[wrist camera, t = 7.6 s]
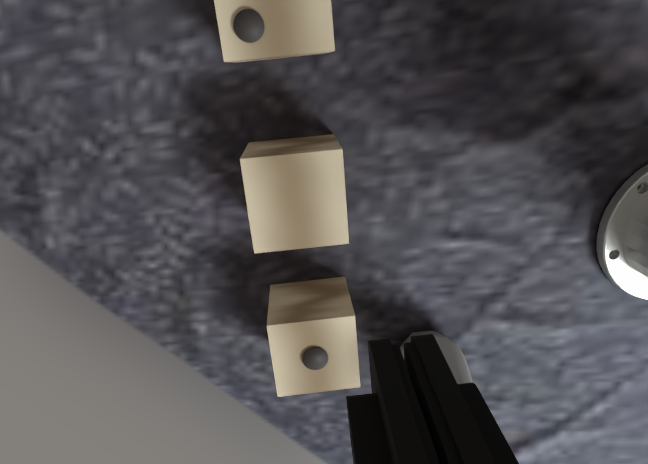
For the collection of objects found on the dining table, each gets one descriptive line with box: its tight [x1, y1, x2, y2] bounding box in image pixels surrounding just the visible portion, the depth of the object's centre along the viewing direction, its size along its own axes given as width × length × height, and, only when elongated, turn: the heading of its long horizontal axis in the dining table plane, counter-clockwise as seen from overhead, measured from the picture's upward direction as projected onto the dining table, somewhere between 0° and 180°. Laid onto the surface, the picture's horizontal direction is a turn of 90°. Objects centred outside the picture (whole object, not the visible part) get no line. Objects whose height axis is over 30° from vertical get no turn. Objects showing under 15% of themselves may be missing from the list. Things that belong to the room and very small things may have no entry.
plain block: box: [240, 134, 349, 254], centre depth 30 cm, size 6×6×6 cm
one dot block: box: [267, 277, 360, 397], centre depth 33 cm, size 6×6×6 cm
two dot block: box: [214, 0, 335, 63], centre depth 25 cm, size 6×6×6 cm
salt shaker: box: [400, 330, 473, 384], centre depth 32 cm, size 6×6×13 cm
